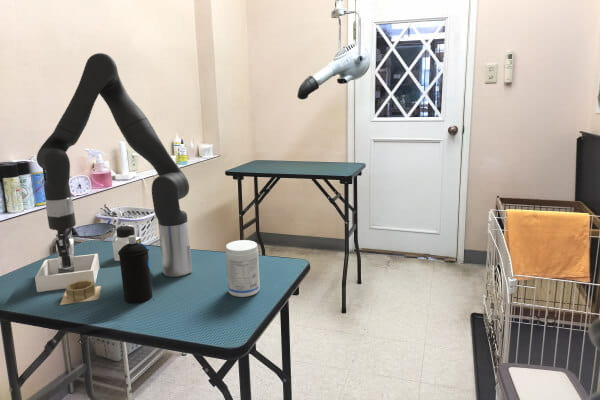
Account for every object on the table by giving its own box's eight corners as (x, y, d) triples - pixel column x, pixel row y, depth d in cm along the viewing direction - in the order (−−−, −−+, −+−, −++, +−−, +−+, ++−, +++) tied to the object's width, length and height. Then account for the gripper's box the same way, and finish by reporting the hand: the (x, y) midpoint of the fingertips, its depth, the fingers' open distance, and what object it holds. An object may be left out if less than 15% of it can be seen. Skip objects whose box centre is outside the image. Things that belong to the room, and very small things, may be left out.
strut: (61, 271, 154) (61, 230, 151) (76, 272, 155) (76, 231, 152) (55, 277, 150) (55, 234, 147) (71, 277, 150) (71, 235, 147)
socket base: (101, 290, 147) (100, 276, 146) (99, 304, 137) (97, 289, 136) (66, 295, 144) (64, 281, 143) (60, 309, 135) (58, 294, 134)
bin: (99, 270, 163) (97, 253, 161) (95, 288, 148) (93, 270, 147) (47, 276, 158) (45, 259, 157) (37, 296, 143) (34, 277, 142)
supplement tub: (230, 284, 149) (227, 239, 145) (261, 284, 148) (259, 239, 145) (225, 298, 139) (222, 250, 136) (258, 298, 139) (256, 250, 135)
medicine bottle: (132, 262, 170) (128, 229, 167) (114, 261, 171) (110, 229, 168) (142, 255, 176) (139, 223, 174) (125, 254, 178) (121, 223, 175)
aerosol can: (137, 311, 132) (129, 242, 128) (117, 305, 137) (109, 238, 132) (160, 300, 139) (153, 234, 134) (141, 294, 143) (134, 230, 139)
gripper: (51, 208, 153) (59, 258, 157) (42, 219, 140) (51, 274, 144) (76, 205, 155) (83, 255, 159) (70, 216, 142) (78, 270, 146)
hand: (68, 264), depth 152 cm, fingers closed on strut, 4 cm apart
